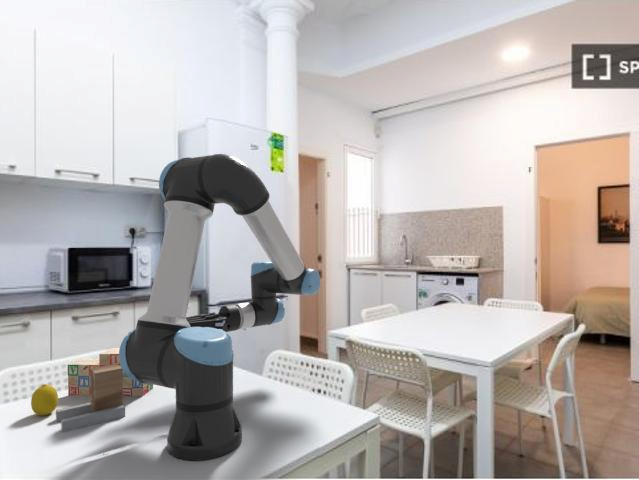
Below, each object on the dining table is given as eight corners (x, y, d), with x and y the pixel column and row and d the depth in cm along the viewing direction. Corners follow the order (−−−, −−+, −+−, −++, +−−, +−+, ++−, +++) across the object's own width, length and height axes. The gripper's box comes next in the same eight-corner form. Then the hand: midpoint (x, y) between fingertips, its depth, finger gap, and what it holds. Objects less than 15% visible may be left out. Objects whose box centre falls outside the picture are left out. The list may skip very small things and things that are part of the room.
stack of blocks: (67, 398, 119) (66, 353, 119) (81, 390, 125) (81, 347, 125) (143, 399, 117) (142, 353, 117) (154, 391, 123) (153, 348, 123)
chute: (125, 419, 104) (125, 407, 104) (62, 435, 96) (62, 422, 96) (115, 408, 111) (115, 396, 111) (55, 422, 103) (55, 410, 103)
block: (122, 413, 105) (122, 368, 105) (95, 420, 102) (95, 373, 102) (117, 407, 109) (116, 363, 109) (90, 414, 106) (90, 368, 105)
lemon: (45, 422, 103) (45, 388, 103) (25, 421, 104) (25, 387, 104) (63, 413, 108) (63, 381, 108) (44, 411, 109) (44, 379, 109)
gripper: (247, 333, 123) (163, 349, 108) (225, 326, 133) (146, 339, 118) (246, 307, 123) (162, 319, 108) (225, 301, 133) (145, 312, 118)
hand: (153, 329), depth 113 cm, fingers closed
